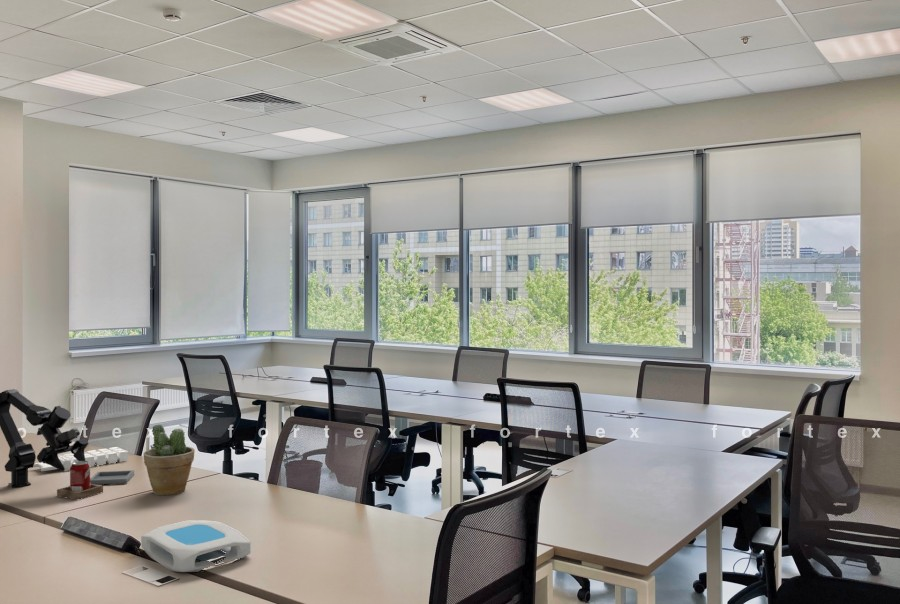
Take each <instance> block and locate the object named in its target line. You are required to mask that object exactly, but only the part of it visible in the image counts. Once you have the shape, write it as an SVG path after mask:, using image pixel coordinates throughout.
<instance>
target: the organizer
mask: <svg viewBox="0 0 900 604" xmlns="http://www.w3.org/2000/svg"><path fill="white" fill-rule="evenodd" d="M73 455H74V454H72V453H71V452H70V453H66V454H65V453H63V455H61V454H58V458H59V460H60V461H61V463H62V464H63V466H64V468H65V470H64V471H63V472H69V471H68V470H70V467H71V466H72V463H73V462H77V461H78V460H77V459H76V458H75V457H74V456H73ZM84 456H85V461H88V464H89V465H90V466H94V467H95V466H96V465H102V464H106V465H107V463H114V464H117V463H123V462H122V461H126V462H129V451H128V450H125V449H123V448H121V447H118V446H113V447H108V448H100V449H99V448H98V449H97V450H96V449H93V450H92V449H91V450H86V452H85V451H84ZM118 461H119V462H118ZM106 462H107V463H106ZM116 462H117V463H116ZM94 463H95V464H96V465H95V464H94ZM102 466H103V465H102ZM33 468H39V469H40V471H41V472H46V471H52V470H58V469H57V468H55V467H53V466H51V465H49V464H46V463H43V462H41V463H39V462H36V463H34V466H33Z"/></svg>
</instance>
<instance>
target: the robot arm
mask: <svg viewBox="0 0 900 604" xmlns="http://www.w3.org/2000/svg"><path fill="white" fill-rule="evenodd" d="M11 405H12V406H13V407H15V409H17V410H19V412H21V413H22V414H24V415H25V418H26V421H27V422H28V423H29V424H31V426H33V427H36V426H41V427H38V428H37V432H36V435H37V436H43V438H44V439H45V441H46V443H45V445H46V447H43V448H41V450H40V451H39V453H38V454H37V456H36V450H34V448H33V445H32V443H26V442H24V439H23V438H22V436H21V434H20V431H19V430H18V429H19V428H18V427H17V425H16V422H15V421H14V419H13V417H12V415H11V412H10V409H11ZM71 415H72V413H71V411H70V410H68V409H67V408H64V407H61V405H56V406H54V407H53V409H52V410H51V409H49V408H47V407H45V406H40V405H36V404H35V403H34V402H32V401H31V400H30V399H28V398H27V397H26V396H24V395H22V394H21V393H20V392H19V391H18V389H15V388H14V389H6V390H3V391H1V392H0V431H1V433H2V434H3V436H4V438H5V441H6V442H7V444H8V447H9V453H8V460H7V462H6V463H5V465H4V470H5V472H9V473H10V474H11V475H10V481H11V482H8V484H7V485H9V487H11V488H18V487H19V488H20V487H26V486H31V485H32V483H31V482H29V469H32V468H34V463H35V462H36V460H37V462H38V463H41V462H43V463H46V464H49V465H51V466H53V467H55V468H57V469H56V470H60V471H61V472H65V471H64V470H65V468H64V466H63V464H62V463H61V461H60V460H59V458H58V455H61V454H65V453H68V452H70V454H71V453H72V454H74V455H73V456H74V457H75V458H76V459H77V460H78V461H85V456H84V452H85V449H86V448H87V446H88V445H89V444H90V443H89V442H88V440H87V439H86V438H83V439H77V438H78V437H79V436H80V434H81V432H80V430H79V429H78V427H73V428H71V429H70V430H66V431H64V432H62V431H61V430H60V429H61V428H63V427H64V425H65V424H66V423H67V421H69V420H70V418H71ZM75 439H77V440H75ZM73 440H75V441H74V443H73ZM72 443H73V444H72ZM70 444H72V445H70Z"/></svg>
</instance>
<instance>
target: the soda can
mask: <svg viewBox="0 0 900 604" xmlns="http://www.w3.org/2000/svg"><path fill="white" fill-rule="evenodd" d="M90 479H91V467H90V465H89V464H88V461H77V462H73V463H72V466H71V467H70V471H69V486H70V491H75V492H80V491H84V490H87V489H90Z"/></svg>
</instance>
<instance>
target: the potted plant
mask: <svg viewBox="0 0 900 604" xmlns="http://www.w3.org/2000/svg"><path fill="white" fill-rule="evenodd" d="M151 432H152V435H153V444H154V445H153V446H152V447H153V448H150V449H147V450H145V451H144V452H143V460H144V461H143V462H144V463H143V464H144V465H145V467H146V470H147V471H146V472H147V476H148V478H149V483H150V486H151V489H152V492H153V494H154V495H156V494H157V495H156V496H173V495H172V494H175V495H178V493H179V494H181V492H182V493H183V492H184V491H186V487H187V483H188V481H189V476H190V473H191V469H192V464H193V462H194V459H195V451H196V450H195V448H194V447H192V446H191V447H190V446H187V445H186V442H185V440H186V436H185V430H183V429H182V428H179V427H178V428H174V429H172V431H171V433H170V435H169V437H168V435H167V434H166V430H165V427H164V426H163V425H162V424H154V426H152V430H151Z"/></svg>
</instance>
